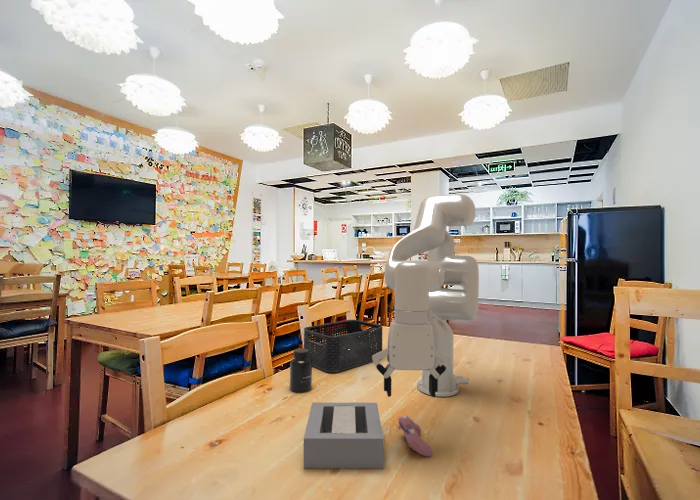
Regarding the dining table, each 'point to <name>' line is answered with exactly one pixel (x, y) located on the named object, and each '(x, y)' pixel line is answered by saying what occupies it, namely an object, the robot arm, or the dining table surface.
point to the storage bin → (342, 344)
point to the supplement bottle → (301, 371)
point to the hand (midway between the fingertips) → (410, 394)
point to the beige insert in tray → (344, 420)
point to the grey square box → (343, 438)
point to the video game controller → (414, 436)
